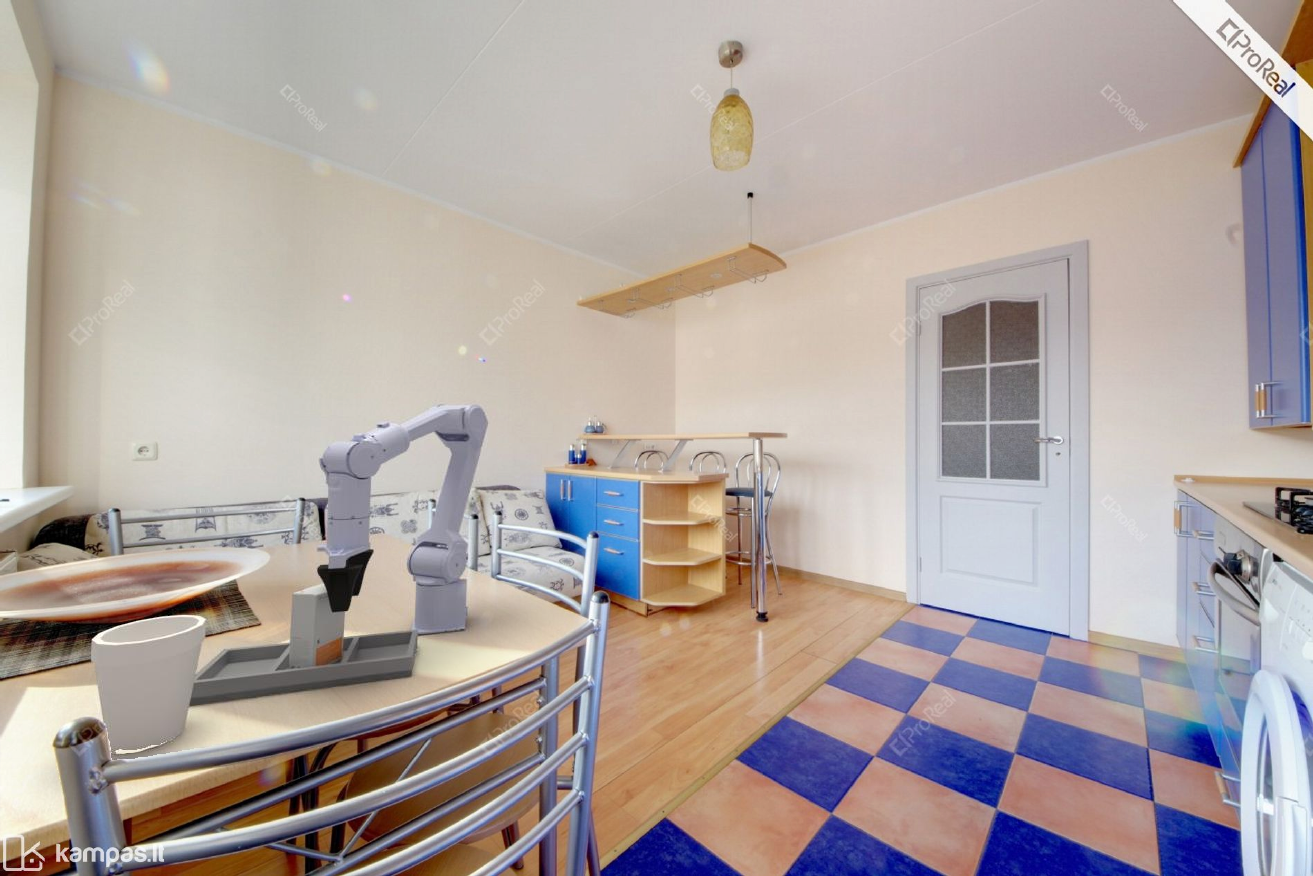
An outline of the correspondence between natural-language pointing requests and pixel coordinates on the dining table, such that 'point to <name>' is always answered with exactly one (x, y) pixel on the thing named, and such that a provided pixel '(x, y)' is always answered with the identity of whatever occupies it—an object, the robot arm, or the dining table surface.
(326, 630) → the skincare box
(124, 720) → the foam cup
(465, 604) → the robot arm
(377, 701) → the dining table surface
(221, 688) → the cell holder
